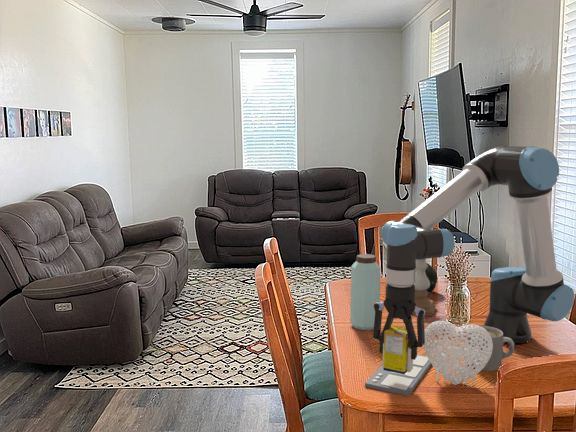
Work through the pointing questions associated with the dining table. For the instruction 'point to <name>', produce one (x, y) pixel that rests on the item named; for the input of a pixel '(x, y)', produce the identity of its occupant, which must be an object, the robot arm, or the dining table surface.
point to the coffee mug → (495, 348)
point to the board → (399, 378)
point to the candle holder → (422, 289)
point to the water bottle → (364, 291)
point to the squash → (431, 277)
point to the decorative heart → (457, 350)
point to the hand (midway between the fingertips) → (397, 367)
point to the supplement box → (396, 349)
